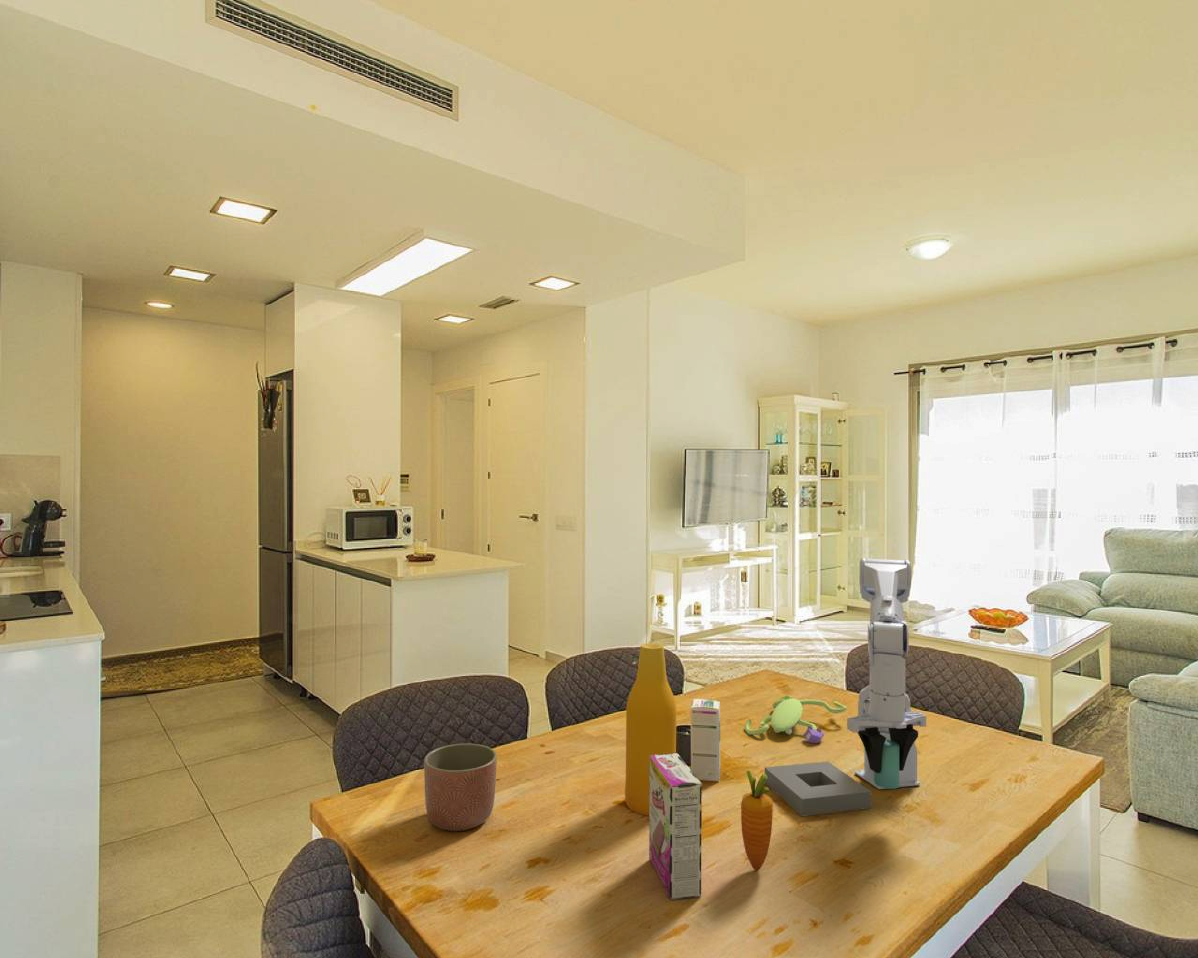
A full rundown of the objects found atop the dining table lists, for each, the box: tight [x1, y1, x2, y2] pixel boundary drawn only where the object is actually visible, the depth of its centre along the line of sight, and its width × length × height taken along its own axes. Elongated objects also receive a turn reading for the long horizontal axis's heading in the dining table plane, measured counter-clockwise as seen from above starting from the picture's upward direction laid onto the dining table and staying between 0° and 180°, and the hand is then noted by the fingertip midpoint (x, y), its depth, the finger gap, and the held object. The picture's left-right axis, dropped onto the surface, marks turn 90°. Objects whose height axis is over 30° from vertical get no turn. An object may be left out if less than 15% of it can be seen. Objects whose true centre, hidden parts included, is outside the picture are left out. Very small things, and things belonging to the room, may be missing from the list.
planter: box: [423, 743, 498, 832], centre depth 119 cm, size 12×12×11 cm
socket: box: [764, 760, 872, 817], centre depth 131 cm, size 14×14×3 cm
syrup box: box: [690, 698, 721, 782], centre depth 139 cm, size 6×6×14 cm
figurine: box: [744, 694, 847, 744], centre depth 168 cm, size 18×27×6 cm
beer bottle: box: [624, 642, 677, 816], centre depth 126 cm, size 9×9×29 cm
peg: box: [874, 739, 900, 790], centre depth 120 cm, size 4×4×7 cm
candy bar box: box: [648, 752, 703, 901], centre depth 102 cm, size 11×5×16 cm, turn 12°
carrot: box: [740, 770, 774, 872], centre depth 105 cm, size 5×5×15 cm
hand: (886, 769), depth 120 cm, fingers closed on peg, 4 cm apart
